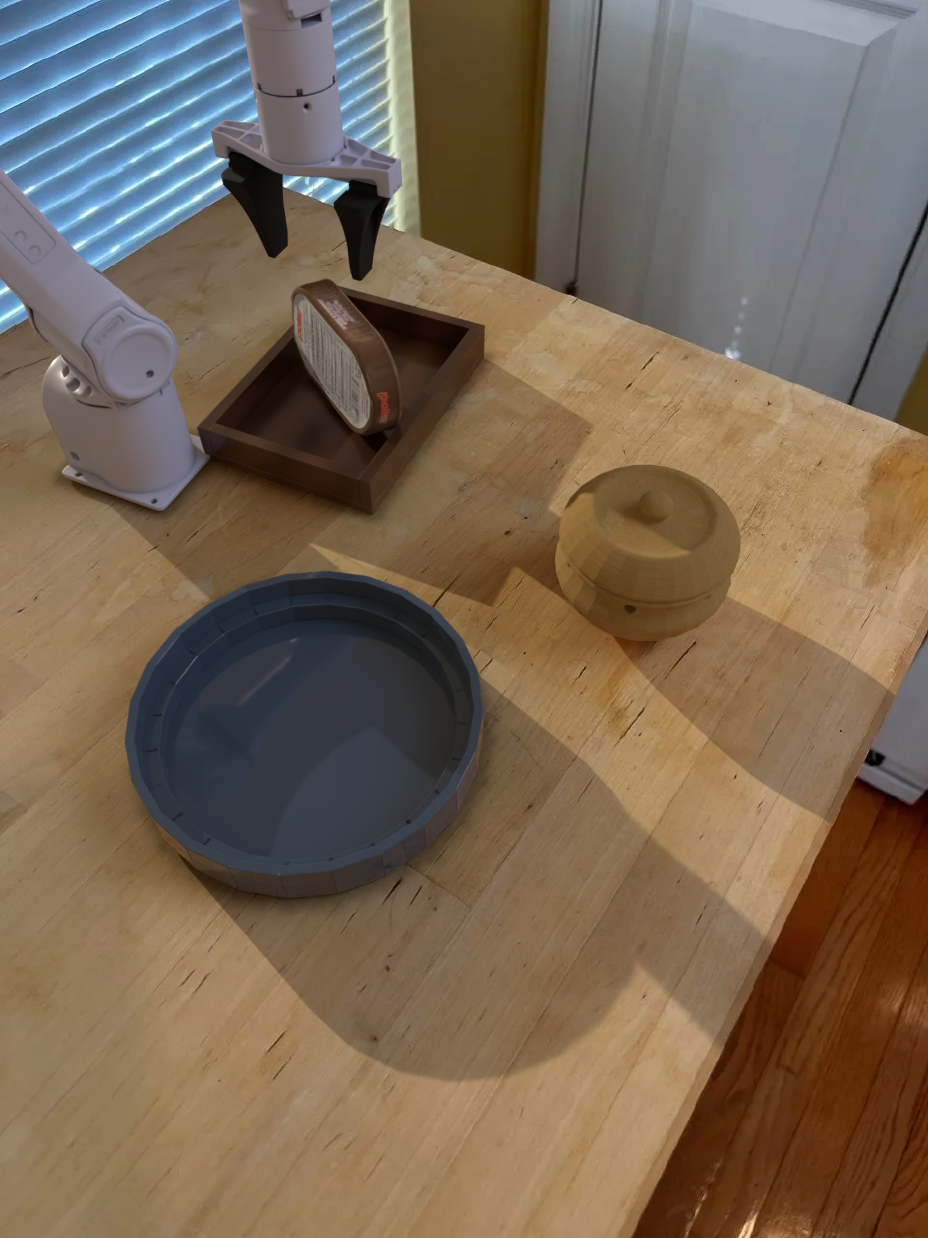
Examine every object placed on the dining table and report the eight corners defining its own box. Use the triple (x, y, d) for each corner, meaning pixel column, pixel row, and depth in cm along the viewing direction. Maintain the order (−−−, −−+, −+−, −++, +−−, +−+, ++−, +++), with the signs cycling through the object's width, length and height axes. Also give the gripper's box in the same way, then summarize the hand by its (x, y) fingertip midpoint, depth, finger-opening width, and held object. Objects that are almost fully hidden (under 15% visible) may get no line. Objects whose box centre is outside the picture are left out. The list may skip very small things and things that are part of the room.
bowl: (69, 812, 56) (49, 785, 53) (259, 566, 68) (250, 533, 65) (385, 961, 51) (381, 939, 48) (532, 666, 62) (535, 635, 60)
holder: (205, 458, 75) (196, 426, 72) (335, 315, 86) (330, 283, 84) (373, 515, 71) (369, 483, 68) (484, 357, 82) (485, 324, 80)
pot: (730, 556, 68) (765, 454, 60) (705, 685, 61) (741, 589, 54) (572, 521, 70) (586, 417, 62) (532, 641, 64) (541, 542, 56)
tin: (400, 450, 74) (411, 357, 68) (365, 459, 73) (372, 365, 66) (318, 349, 82) (320, 257, 76) (284, 355, 81) (284, 263, 74)
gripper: (417, 73, 64) (424, 257, 74) (235, 37, 67) (267, 217, 78) (368, 118, 60) (383, 305, 70) (178, 76, 63) (220, 260, 74)
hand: (319, 262), depth 74 cm, fingers open, 7 cm apart
